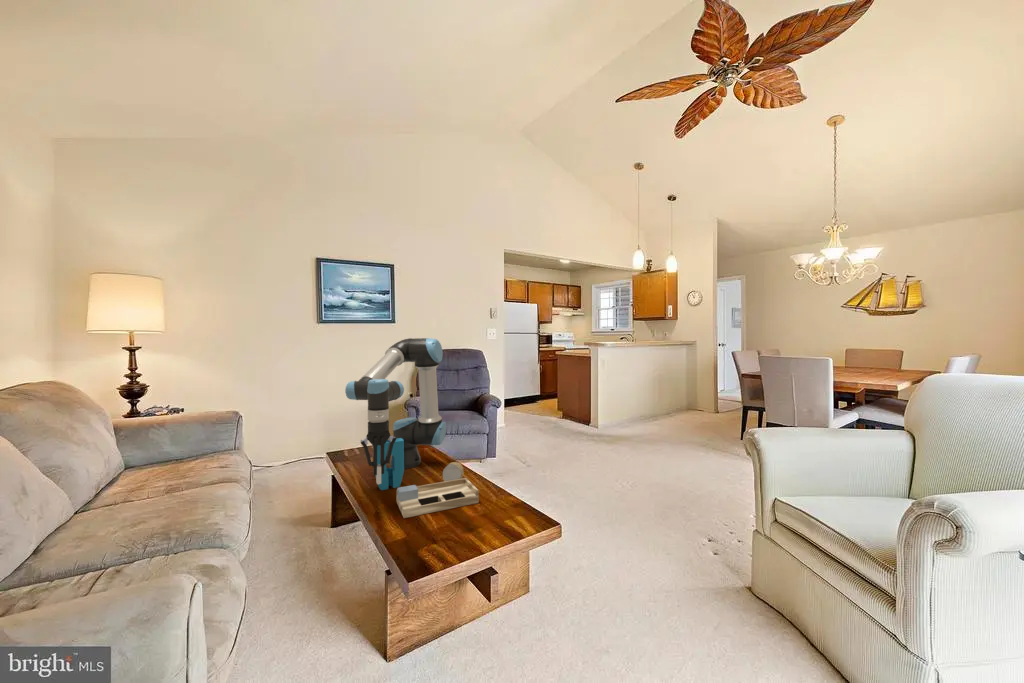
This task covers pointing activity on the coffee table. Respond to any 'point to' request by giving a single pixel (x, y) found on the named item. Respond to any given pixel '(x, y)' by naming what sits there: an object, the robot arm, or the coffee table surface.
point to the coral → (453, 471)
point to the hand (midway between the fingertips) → (378, 482)
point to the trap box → (440, 497)
